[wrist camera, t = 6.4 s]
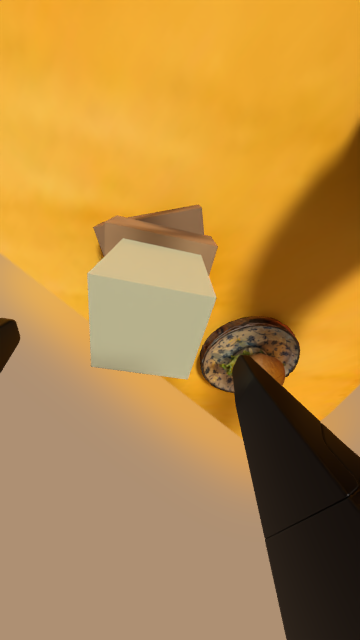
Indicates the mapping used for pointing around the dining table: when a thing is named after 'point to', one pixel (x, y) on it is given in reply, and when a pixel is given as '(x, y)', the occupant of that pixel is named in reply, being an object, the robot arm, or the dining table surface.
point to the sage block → (148, 309)
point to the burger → (249, 350)
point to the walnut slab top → (159, 237)
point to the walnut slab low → (164, 221)
